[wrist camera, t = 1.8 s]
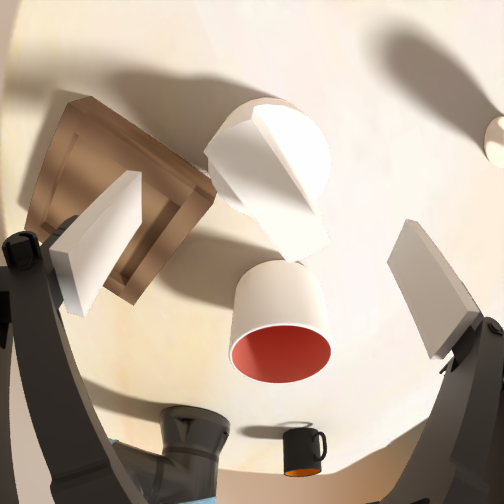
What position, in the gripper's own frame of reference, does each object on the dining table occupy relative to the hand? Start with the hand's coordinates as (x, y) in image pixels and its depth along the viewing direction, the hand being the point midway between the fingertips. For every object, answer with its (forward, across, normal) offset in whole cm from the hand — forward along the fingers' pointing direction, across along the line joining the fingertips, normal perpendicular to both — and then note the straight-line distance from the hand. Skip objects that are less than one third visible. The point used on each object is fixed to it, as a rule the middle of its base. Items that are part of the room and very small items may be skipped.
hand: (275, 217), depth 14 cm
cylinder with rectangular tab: (+15, 0, 0) cm, 15 cm away
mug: (+14, -21, +58) cm, 64 cm away
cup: (+15, -4, +17) cm, 23 cm away
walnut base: (+14, +15, +8) cm, 22 cm away
